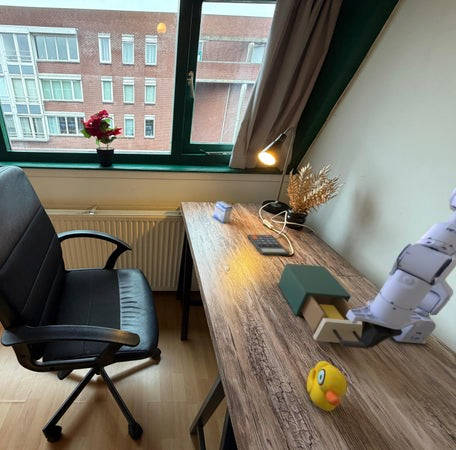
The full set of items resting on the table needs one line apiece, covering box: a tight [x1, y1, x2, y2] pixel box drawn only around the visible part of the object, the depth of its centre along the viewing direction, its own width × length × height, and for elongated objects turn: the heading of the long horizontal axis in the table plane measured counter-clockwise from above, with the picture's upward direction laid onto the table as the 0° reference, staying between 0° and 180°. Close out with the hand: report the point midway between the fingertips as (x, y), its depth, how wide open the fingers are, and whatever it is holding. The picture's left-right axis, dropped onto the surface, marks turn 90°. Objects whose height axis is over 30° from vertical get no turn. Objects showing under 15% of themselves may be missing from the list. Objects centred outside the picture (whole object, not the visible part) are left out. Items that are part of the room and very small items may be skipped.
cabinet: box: [278, 263, 352, 317], centre depth 77 cm, size 14×13×9 cm
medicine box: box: [213, 200, 233, 224], centre depth 127 cm, size 8×4×9 cm, turn 25°
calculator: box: [247, 234, 290, 256], centre depth 108 cm, size 12×1×15 cm
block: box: [319, 304, 344, 320], centre depth 68 cm, size 5×4×4 cm
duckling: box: [306, 360, 348, 412], centre depth 50 cm, size 11×5×10 cm, turn 151°
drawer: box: [301, 295, 370, 349], centre depth 66 cm, size 17×11×7 cm
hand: (366, 343), depth 56 cm, fingers closed
